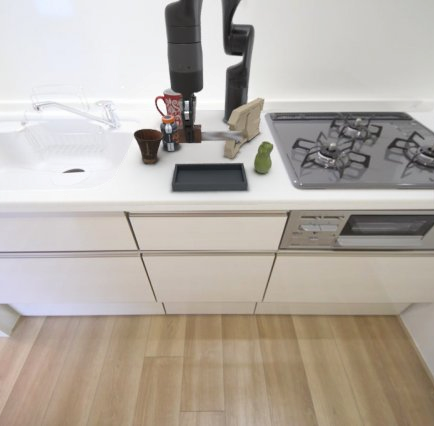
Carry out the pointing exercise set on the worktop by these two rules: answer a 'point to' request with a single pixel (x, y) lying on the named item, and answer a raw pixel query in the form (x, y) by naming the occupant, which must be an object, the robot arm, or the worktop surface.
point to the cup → (148, 144)
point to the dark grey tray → (209, 177)
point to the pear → (263, 157)
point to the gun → (244, 124)
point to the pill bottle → (169, 133)
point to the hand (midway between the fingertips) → (190, 139)
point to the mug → (171, 105)
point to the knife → (210, 135)
